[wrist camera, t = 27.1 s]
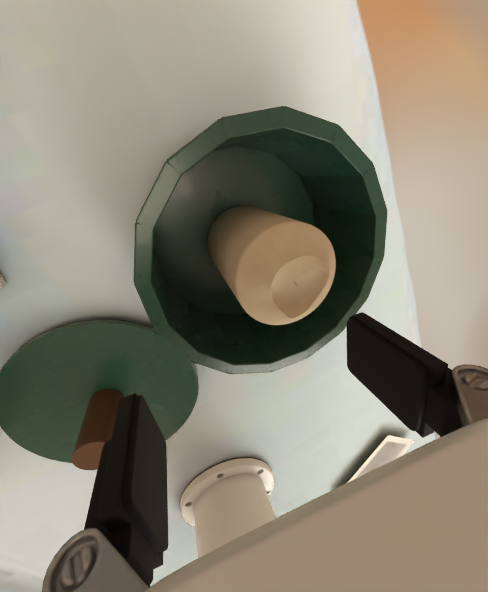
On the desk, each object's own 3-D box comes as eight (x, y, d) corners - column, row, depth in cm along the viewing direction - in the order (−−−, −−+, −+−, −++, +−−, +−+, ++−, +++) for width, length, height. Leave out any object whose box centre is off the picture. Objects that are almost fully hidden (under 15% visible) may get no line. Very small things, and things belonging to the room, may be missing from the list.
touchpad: (329, 492, 43) (337, 506, 42) (382, 429, 40) (393, 441, 38) (358, 492, 47) (366, 505, 45) (409, 434, 43) (420, 446, 41)
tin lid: (213, 415, 28) (226, 470, 23) (63, 474, 25) (37, 553, 20) (166, 291, 21) (169, 330, 15) (-52, 356, 18) (-141, 431, 13)
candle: (258, 281, 22) (321, 347, 13) (197, 263, 20) (226, 330, 11) (283, 219, 20) (374, 250, 12) (220, 193, 18) (275, 206, 10)
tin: (322, 291, 25) (379, 331, 19) (179, 339, 23) (187, 404, 16) (313, 117, 19) (397, 84, 12) (107, 158, 16) (72, 145, 9)
